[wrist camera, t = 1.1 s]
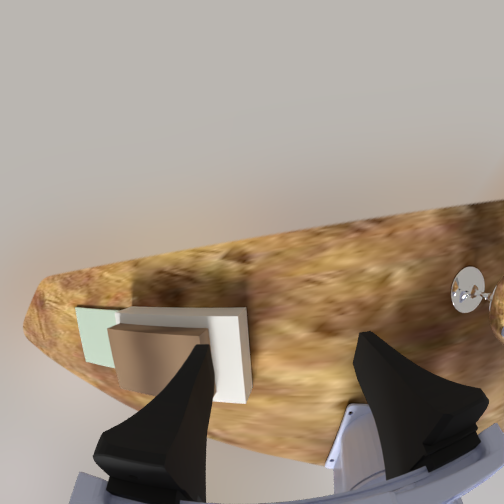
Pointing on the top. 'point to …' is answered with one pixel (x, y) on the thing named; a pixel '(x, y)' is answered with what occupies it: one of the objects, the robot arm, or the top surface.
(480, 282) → the wineglass
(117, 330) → the tan cardboard slab
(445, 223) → the top surface
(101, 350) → the mat
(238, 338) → the tray
